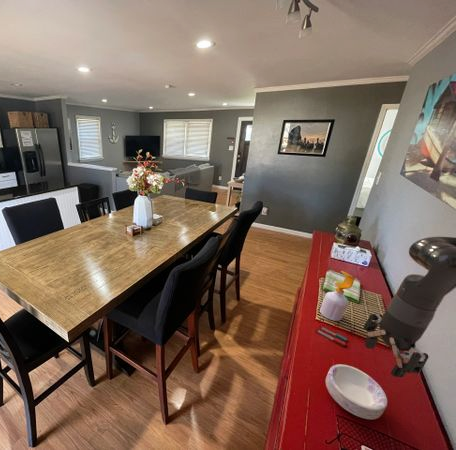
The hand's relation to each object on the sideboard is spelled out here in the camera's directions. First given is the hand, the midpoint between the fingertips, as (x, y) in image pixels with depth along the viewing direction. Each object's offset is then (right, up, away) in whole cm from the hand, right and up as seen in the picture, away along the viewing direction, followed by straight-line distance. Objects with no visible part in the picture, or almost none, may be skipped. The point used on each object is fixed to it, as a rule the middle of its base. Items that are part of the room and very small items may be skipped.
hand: (381, 360), depth 66 cm
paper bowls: (+4, -22, +15) cm, 27 cm away
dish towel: (+47, +1, +74) cm, 88 cm away
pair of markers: (+15, -13, +39) cm, 44 cm away
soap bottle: (+25, -7, +53) cm, 59 cm away
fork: (+17, -12, +42) cm, 47 cm away
